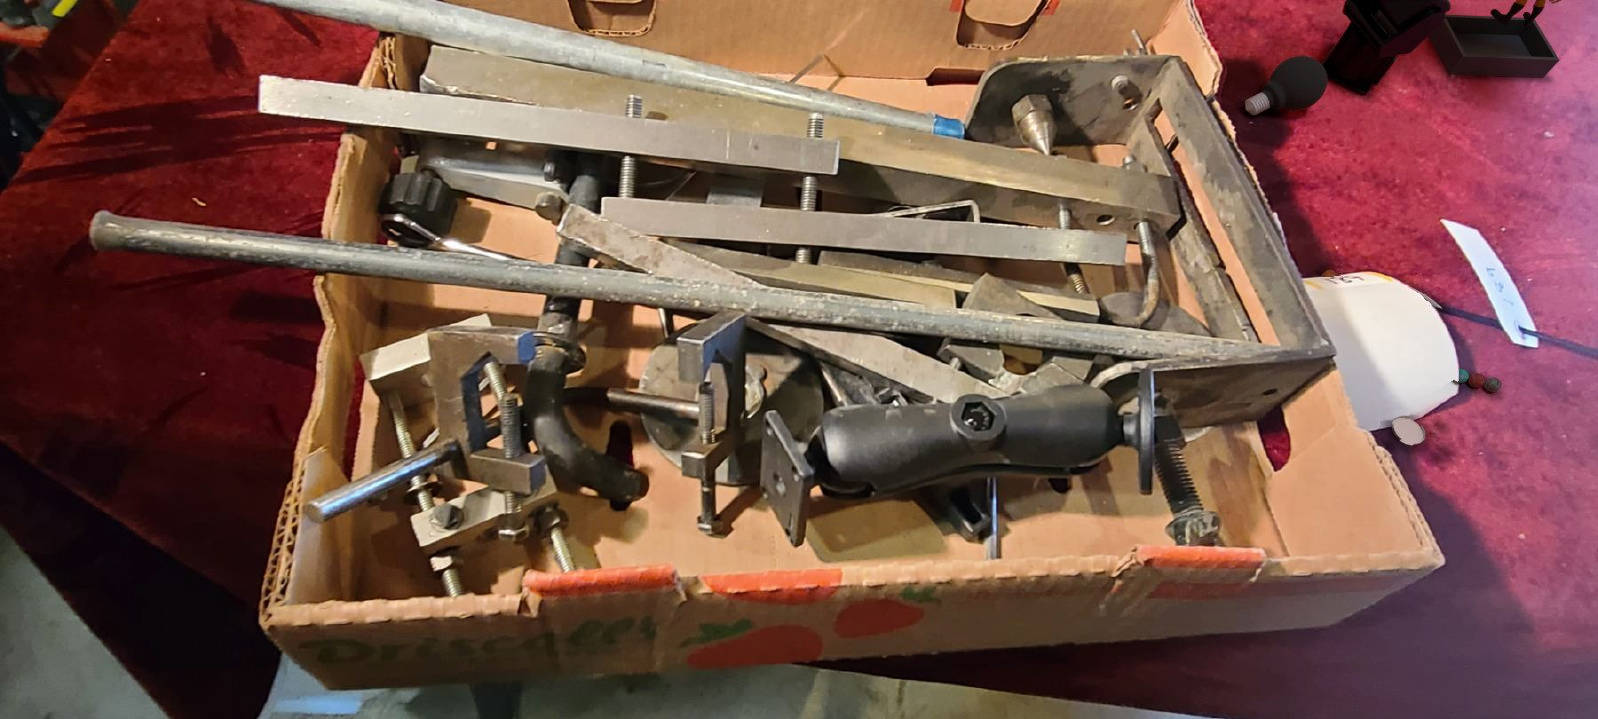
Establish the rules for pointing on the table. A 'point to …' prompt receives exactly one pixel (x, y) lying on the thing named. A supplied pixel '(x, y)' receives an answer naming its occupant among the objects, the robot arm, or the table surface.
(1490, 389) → the beads
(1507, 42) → the tray
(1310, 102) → the light bulb
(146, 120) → the table surface
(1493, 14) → the action figure
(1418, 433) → the grey flat disc
